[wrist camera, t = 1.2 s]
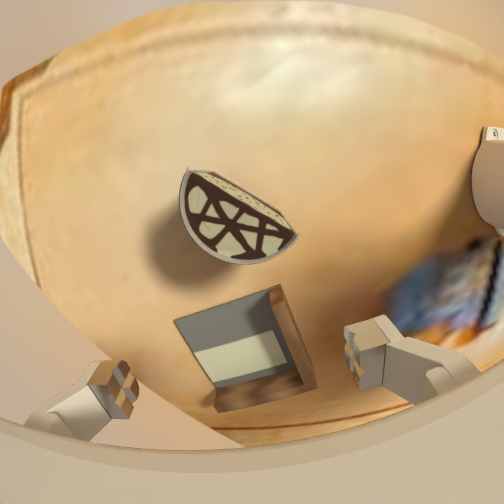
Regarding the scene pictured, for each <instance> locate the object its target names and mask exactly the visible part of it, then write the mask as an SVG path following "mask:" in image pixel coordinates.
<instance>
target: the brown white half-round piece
mask: <svg viewBox="0 0 504 504" xmlns="http://www.w3.org/2000/svg"><path fill="white" fill-rule="evenodd" d="M179 208H180V213H181V218H182V220H183V223H184V226H185V228H186V229H187V231H188V233H189V235H190V236H191V238H192V239H193V240H194V241H195V243H196V244H197V245H198V246H200V247H201V248H202V249H203V250H204V251H205V252H207V253H208V254H210V255H211V256H213V257H215V258H217V259H219V260H222V261H225V262H229V263H234V264H256V263H261V262H265V261H268V260H270V259H273V258H275V257H277V256H279V255H280V254H282V253H283V252H285V251H286V250H287V249H288V248H289V247H290V246H292V245H293V244H294V243H295V241H296V240H297V239H298V238H299V236H300V233H298V234H297V233H296V232H295V230H294V229H293V228H292V226H291V225H290V224H289V222H288V221H287V220H286V218H285V217H284V215H283V214H282V213H281V211H279V210H278V209H276V208H275V207H273V206H271V205H270V204H268V203H267V202H265V201H263V200H262V199H260V198H258V197H257V196H255V195H253V194H252V193H250V192H248V191H247V190H245V189H243V188H242V187H240V186H238V185H237V184H235V183H233V182H232V181H230V180H228V179H226V178H225V177H223V176H221V175H220V174H218V173H216V172H214V171H202V170H189V167H187V169H186V172H185V174H184V176H183V179H182V182H181V186H180V192H179Z"/></svg>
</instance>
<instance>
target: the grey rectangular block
mask: <svg viewBox="0 0 504 504" xmlns="http://www.w3.org/2000/svg"><path fill="white" fill-rule="evenodd" d="M278 286H281V284H279V285H276V286H273V287H270V288H268V289H265V290H262V291H259V292H256V293H253V294H250V295H248V296H245V297H242V298H239V299H236V300H233V301H230V302H227V303H224V304H221V305H218V306H215V307H212V308H209V309H206V310H203V311H200V312H197V313H194V314H190V315H187V316H184V317H181V318H178V319H175V323H176V325H177V327H178V328H179V330H180V332H181V333H182V335H183V337H184V338H185V340H186V341H187V343H188V345H189V346H190V348H191V350H192V351H193V353H194V352H198V351H202V350H206V349H209V348H213V347H217V346H220V345H224V344H227V343H231V342H234V341H237V340H241V339H244V338H247V337H251V336H254V335H257V334H260V333H263V332H266V331H269V330H273V331H274V333H275V336H276V338H277V340H278V342H279V345H280V347H281V349H282V351H283V353H284V356H285V358H286V360H287V363H284V364H281V365H277V366H274V367H270V368H267V369H263V370H260V371H256V372H253V373H249V374H245V375H241V376H237V377H233V378H229V379H225V380H221V381H217V382H213V383H214V385H215V386H216V388H221V387H225V386H229V385H233V384H238V383H242V382H246V381H250V380H253V379H257V378H261V377H264V376H268V375H272V374H275V373H279V372H282V371H285V370H288V369H292V368H295V367H297V366H296V364H295V362H294V359H293V357H292V355H291V352H290V350H289V348H288V345H287V343H286V341H285V338H284V336H283V333H282V331H281V329H280V326H279V324H278V322H277V319H276V317H275V315H274V312H273V310H272V308H271V303H270V292H269V290H270V289H272V288H275V287H278ZM282 290H283V289H282ZM284 295H285V294H284ZM285 298H286V297H285ZM286 300H287V299H286ZM287 303H288V302H287ZM288 305H289V304H288ZM289 308H290V307H289ZM291 313H292V312H291ZM292 316H293V315H292ZM293 318H294V317H293ZM294 321H295V320H294ZM295 323H296V322H295ZM296 326H297V325H296ZM298 331H299V330H298ZM299 334H300V333H299ZM300 336H301V335H300ZM301 339H302V338H301ZM303 344H304V343H303ZM304 347H305V346H304ZM305 349H306V348H305ZM306 352H307V351H306ZM308 357H309V356H308ZM309 360H310V359H309ZM311 365H312V364H311ZM312 368H313V367H312Z"/></svg>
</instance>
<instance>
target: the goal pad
mask: <svg viewBox="0 0 504 504" xmlns="http://www.w3.org/2000/svg"><path fill="white" fill-rule="evenodd" d="M194 354H195V356H196V358H197V359H198V361H199V362H200V364H201V365H202V367H203V368H204V370H205V371H206V373H207V374H208V376H209V377H210V379H211V380H212V382H217V381H221V380H225V379H229V378H233V377H237V376H241V375H245V374H249V373H253V372H256V371H260V370H263V369H267V368H270V367H274V366H277V365H281V364H284V363H287V360H286V358H285V356H284V353H283V351H282V349H281V347H280V345H279V342H278V340H277V338H276V336H275V333H274V331H273V330H269V331H266V332H263V333H260V334H257V335H254V336H251V337H247V338H244V339H241V340H237V341H234V342H231V343H227V344H224V345H220V346H217V347H213V348H209V349H206V350H202V351H198V352H194Z"/></svg>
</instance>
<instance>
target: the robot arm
mask: <svg viewBox="0 0 504 504" xmlns="http://www.w3.org/2000/svg"><path fill="white" fill-rule="evenodd" d="M472 193H473V198H474V202H475V206H476V208H477V211H478V213H479V214H480V216H481V217H482V219H483V220H484V221H485V222H487V223H489V224H491V225H492V226H494V228H495V229H496V231H497V233H498V234H499V235H502V236H504V128H499V127H491V126H485V127H484V129H483V134H482V142H481V145H480V148H479V150H478V152H477V154H476V156H475V160H474V163H473V169H472ZM344 337H345V339H346V341H347V343H346V345H345V346H344V347H345V357H346V362H347V365H348V367H349V370H350V371H352V372H354V381H355V383H356V385H357V387H358V390H359V391H363V390H366V389H370V388H373V387H377V386H380V385H382V386H384V387H385V388H387V389H388V390H390V391H392V392H393V393H395V394H397V395H398V396H400V397H402V398H404V399H405V400H407V401H409V402H410V403H412V404H414V405H415V406H412V407H410V408H407V409H405V410H402V411H400V412H397V413H394V414H392V415H389V416H386V417H383V418H380V419H377V420H374V421H371V422H368V423H365V424H362V425H358V426H355V427H352V428H348V429H344V430H341V431H337V432H333V433H329V434H325V435H320V436H316V437H311V438H306V439H301V440H296V441H290V442H284V443H278V444H271V445H263V446H255V447H246V448H235V449H220V450H187V451H186V450H154V449H140V448H130V447H121V446H112V445H106V444H99V443H92V442H89V441H90V440H91V439H92V438H93V437H94V436H95V435H96V434H97V433H98V432H99V431H100V430H101V429H102V428H103V427H104V426H105V425H106V424H108V423H109V422H110V421H111V419H129V418H130V415H131V413H132V410H133V408H134V407H133V405H132V403H133V402H134V401H136V400H137V398H138V395H139V385H138V382H137V380H136V378H135V377H134V376H133V375H131V374H130V373H129V372H130V367H129V366H128V364H127V362H125V361H123V360H111V361H93V362H91V363H90V365H89V366H88V368H87V369H86V370H85V372H84V373H83V375H82V376H81V378H80V379H79V381H78V382H77V384H76V385H72V386H70V387H69V388H67V389H65V390H64V391H62V392H61V393H59V394H57V395H56V396H54V397H53V398H51V399H49V400H48V401H46V402H45V403H43V404H42V405H40V406H38V407H36V408H35V409H34V410H33V412H32V413H31V415H30V416H29V418H28V419H27V421H26V422H25V424H24V425H21V424H18V423H15V422H12V421H9V420H7V419H4V418H1V417H0V504H504V359H502V360H501V361H499V362H498V363H496V364H495V365H493V366H491V367H490V368H488V369H486V370H485V371H483V372H480V371H479V370H478V369H477V368H476V367H475V366H474V364H473V363H472V362H471V361H470V360H469V359H468V358H467V357H466V356H465V355H464V354H463V353H459V352H456V351H453V350H449V349H446V348H443V347H440V346H436V345H433V344H430V343H426V342H423V341H420V340H417V339H414V338H411V337H406V338H404V337H403V335H402V334H401V333H400V332H399V331H398V329H397V328H396V327H395V326H394V325H393V323H392V322H391V321H390V320H389V319H388V317H387V316H386V315H384V314H383V315H380V316H377V317H374V318H371V319H369V320H365V321H362V322H358V323H355V324H351V325H347V326H344Z"/></svg>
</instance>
